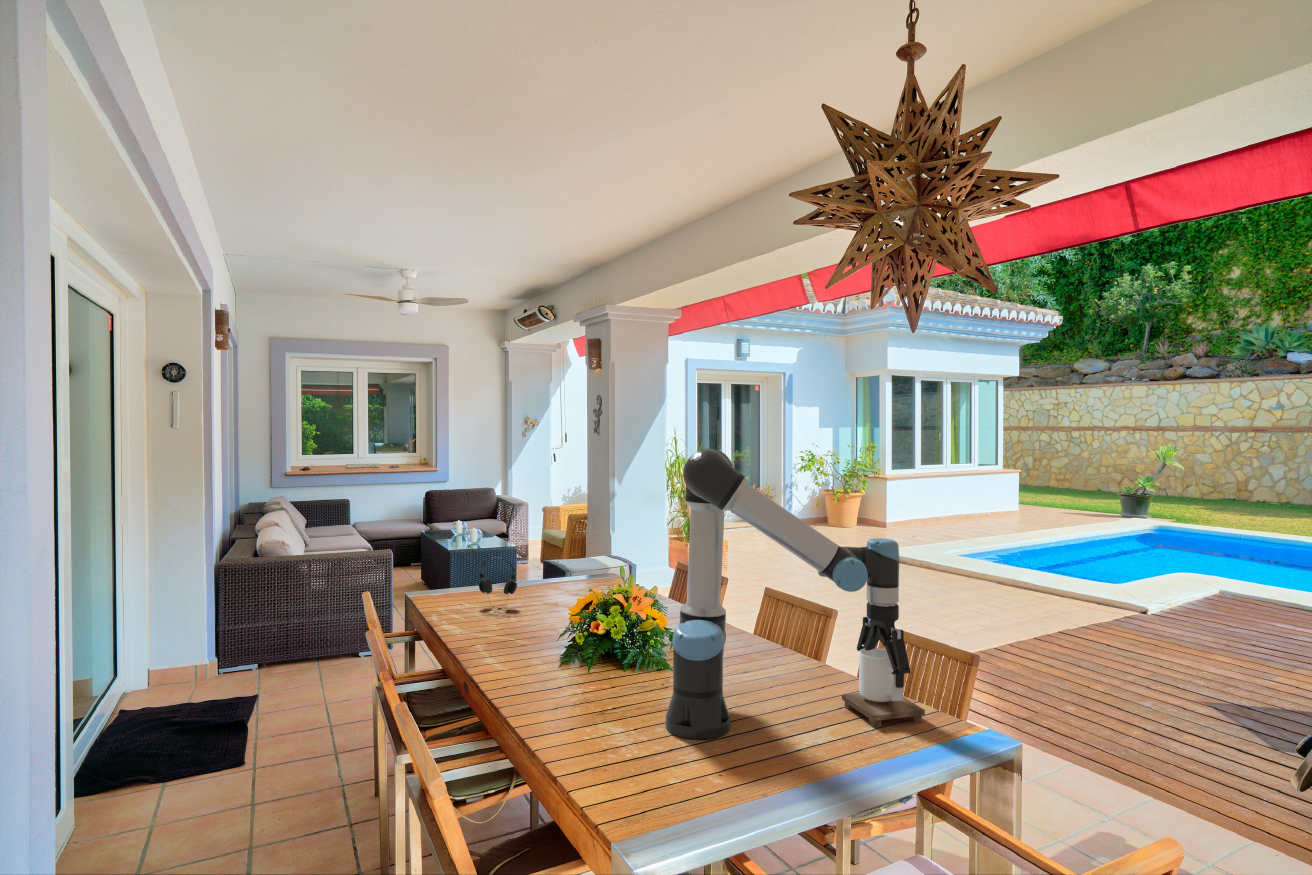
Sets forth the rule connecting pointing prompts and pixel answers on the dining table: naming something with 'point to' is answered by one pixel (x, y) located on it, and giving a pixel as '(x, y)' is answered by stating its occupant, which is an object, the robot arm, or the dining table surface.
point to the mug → (875, 675)
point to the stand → (883, 709)
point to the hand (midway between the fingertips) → (881, 690)
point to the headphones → (487, 585)
